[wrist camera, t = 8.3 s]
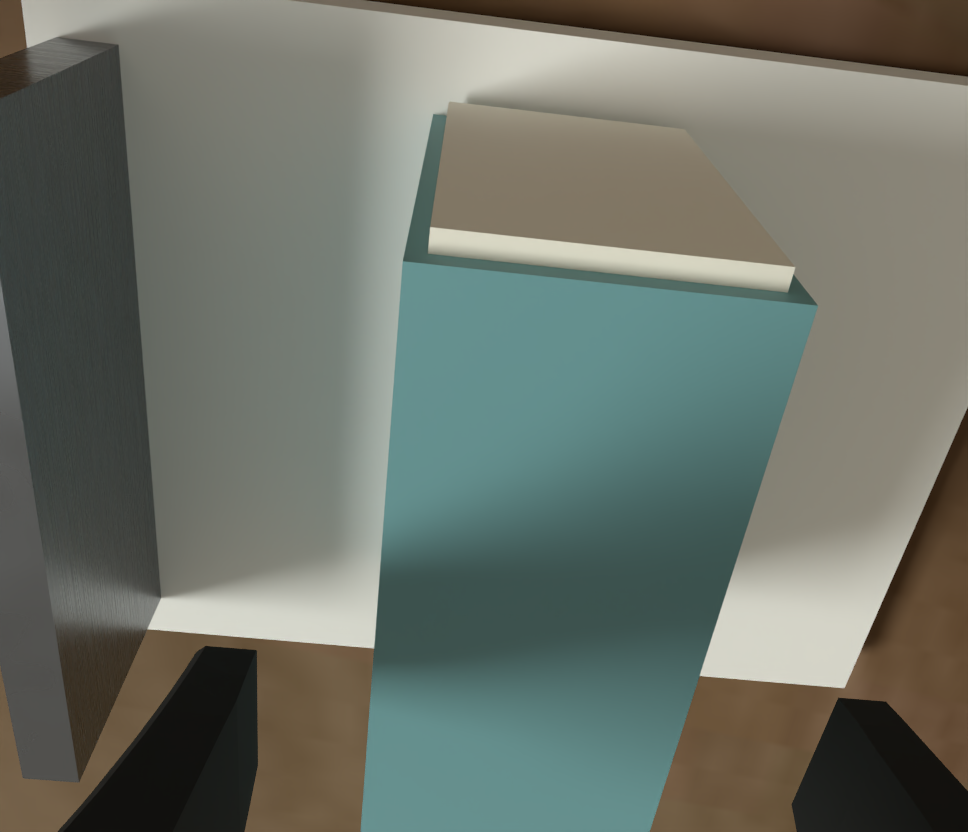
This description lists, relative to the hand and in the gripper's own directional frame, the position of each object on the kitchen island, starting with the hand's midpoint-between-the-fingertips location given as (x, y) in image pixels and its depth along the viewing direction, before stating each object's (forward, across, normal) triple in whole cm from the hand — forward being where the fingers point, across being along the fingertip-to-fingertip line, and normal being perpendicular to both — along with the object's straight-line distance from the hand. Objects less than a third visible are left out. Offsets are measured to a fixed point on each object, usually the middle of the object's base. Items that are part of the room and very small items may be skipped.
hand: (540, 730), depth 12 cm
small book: (+8, 0, 0) cm, 8 cm away
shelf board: (+10, 0, 0) cm, 10 cm away
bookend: (+8, +8, 0) cm, 11 cm away
